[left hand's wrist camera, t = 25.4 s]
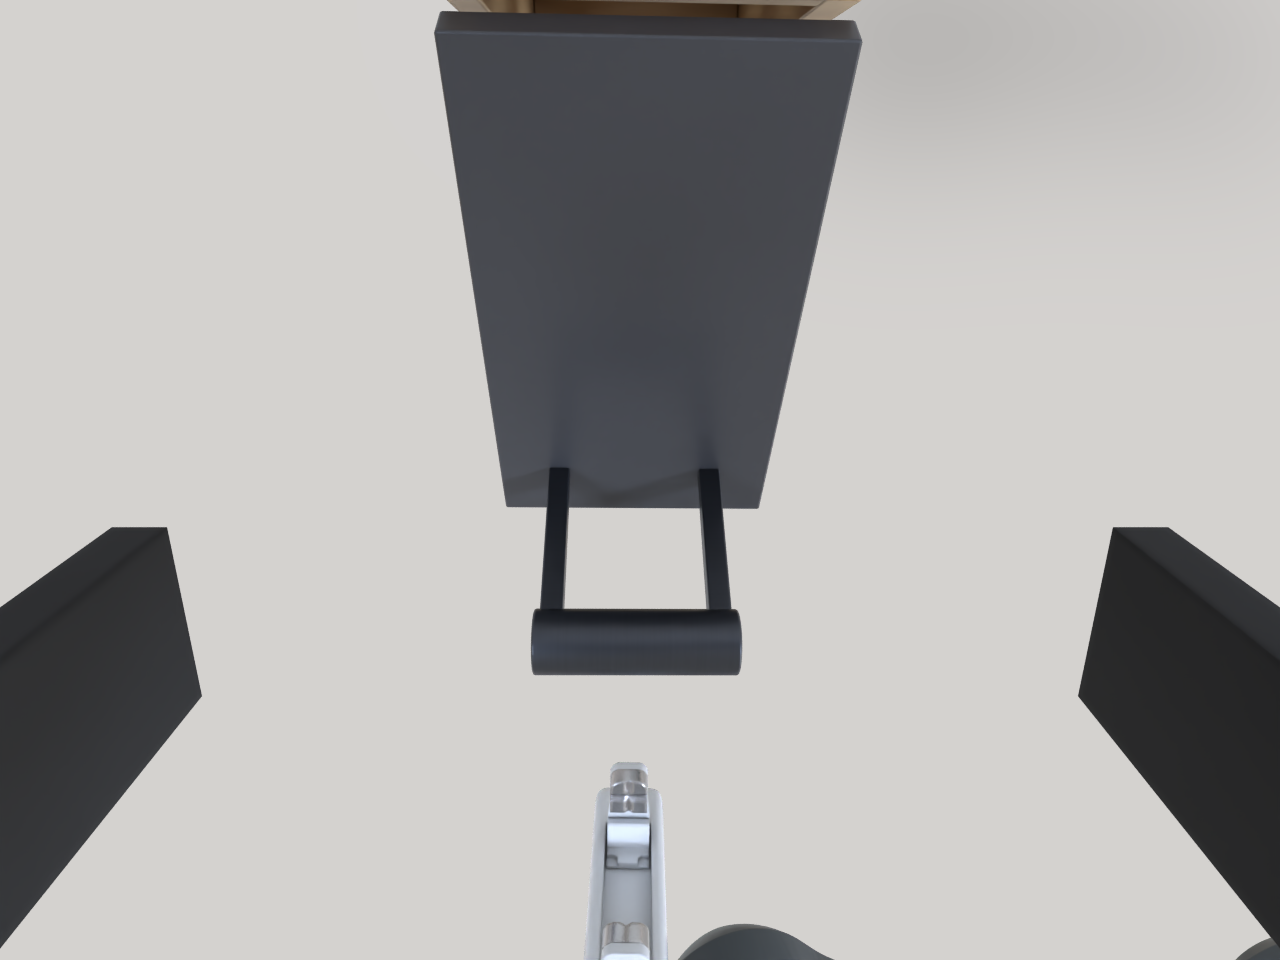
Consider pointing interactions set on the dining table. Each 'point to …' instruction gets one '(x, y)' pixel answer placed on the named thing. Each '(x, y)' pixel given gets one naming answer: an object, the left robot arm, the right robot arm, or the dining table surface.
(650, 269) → the lid
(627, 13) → the chest
